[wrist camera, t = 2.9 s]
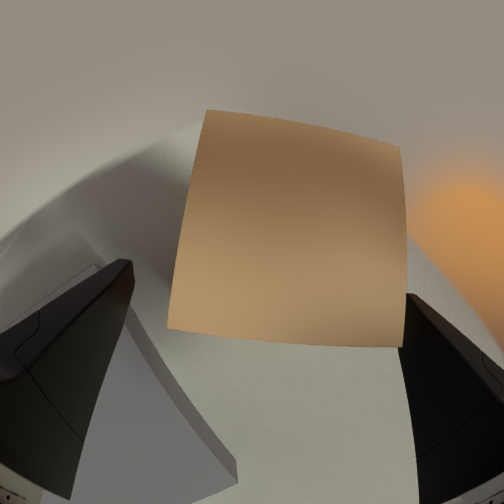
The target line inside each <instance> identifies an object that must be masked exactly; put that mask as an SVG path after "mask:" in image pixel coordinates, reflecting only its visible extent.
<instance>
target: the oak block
mask: <svg viewBox="0 0 504 504" xmlns="http://www.w3.org/2000/svg"><path fill="white" fill-rule="evenodd" d="M406 284H407V233H406V211H405V196H404V183H403V173H402V164H401V156H400V149H399V147H397V146H394V145H390V144H387V143H384V142H380V141H377V140H373V139H369V138H365V137H362V136H358V135H354V134H349V133H346V132H342V131H338V130H333V129H329V128H324V127H320V126H314V125H309V124H305V123H300V122H294V121H288V120H283V119H277V118H271V117H264V116H258V115H250V114H243V113H235V112H226V111H216V110H206V115H205V118H204V122H203V126H202V130H201V135H200V139H199V143H198V147H197V152H196V156H195V161H194V165H193V170H192V175H191V180H190V184H189V189H188V194H187V199H186V205H185V210H184V215H183V221H182V226H181V232H180V238H179V244H178V250H177V256H176V262H175V269H174V275H173V282H172V289H171V296H170V304H169V312H168V320H167V329H173V330H179V331H186V332H193V333H200V334H207V335H215V336H222V337H231V338H239V339H249V340H258V341H269V342H280V343H293V344H308V345H325V346H348V347H402V344H403V334H404V322H405V307H406Z"/></svg>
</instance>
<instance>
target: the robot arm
mask: <svg viewBox="0 0 504 504" xmlns="http://www.w3.org/2000/svg"><path fill="white" fill-rule="evenodd" d="M134 285H135V279H134V271H133V263H132V261H131V260H128V259H122V258H120V259H117V260H116V261H114V262H112V263H111V264H109V265H107V266H106V267H104V268H102V269H101V270H99V271H98V272H96V273H94V274H93V275H91V276H89V277H88V278H86V279H85V280H83V281H81V282H80V283H78V284H77V285H75V286H74V287H72V288H70V289H69V290H67V291H66V292H64V293H63V294H61V295H60V296H58V297H56V298H55V299H53V300H52V301H50V302H49V303H47V304H46V305H44V306H43V307H41V308H40V310H37V311H35V312H34V313H32V314H31V315H29V316H28V317H26V318H25V319H23V320H22V321H20V322H19V323H17V324H15V325H14V326H12V327H10V328H9V329H7V330H5V331H4V332H2V333H0V504H41V501H42V497H43V493H44V490H46V491H48V492H51V493H53V494H55V495H57V496H59V497H62V498H64V499H66V500H69V501H70V499H71V495H72V491H73V486H74V482H75V477H76V473H77V469H78V465H79V461H80V457H81V453H82V450H83V446H84V443H83V442H85V438H86V435H87V431H88V428H89V425H90V421H91V418H92V415H93V411H94V408H95V405H96V402H97V399H98V396H99V393H100V390H101V387H102V384H103V381H104V378H105V375H106V372H107V369H108V367H109V364H110V361H111V358H112V355H113V353H114V350H115V347H116V345H117V342H118V339H119V337H120V334H121V332H122V329H123V326H124V322H125V318H126V315H127V311H128V307H129V304H130V300H131V296H132V293H133V290H134ZM398 353H399V358H400V363H401V368H402V372H403V377H404V382H405V387H406V393H407V398H408V404H409V410H410V416H411V422H412V429H413V436H414V444H415V453H416V463H417V474H418V487H419V504H443V503H445V502H448V501H450V500H452V499H455V498H457V497H459V496H460V500H461V504H504V370H503V369H502V368H501V367H500V366H498V365H497V364H496V363H495V362H494V361H493V360H492V359H490V358H489V357H488V356H487V355H486V354H485V353H484V352H483V351H481V350H480V349H479V348H478V347H477V346H476V345H475V344H474V343H473V342H471V341H470V340H469V339H468V338H467V337H466V336H465V335H463V334H462V333H461V332H460V331H459V330H458V329H457V328H455V327H454V326H453V325H452V324H451V323H449V322H448V321H447V320H446V319H445V318H444V317H442V316H441V315H440V314H439V313H438V312H436V311H435V310H434V309H433V308H432V307H430V306H429V305H428V304H427V303H425V302H424V301H423V300H422V299H421V298H419V297H418V296H417V295H415V294H411V293H406V307H405V322H404V334H403V344H402V347H398Z"/></svg>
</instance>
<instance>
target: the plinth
mask: <svg viewBox="0 0 504 504" xmlns="http://www.w3.org/2000/svg"><path fill="white" fill-rule="evenodd" d="M102 268H103V267H101V266H98V265H96V264H93V265H91V266H90V267H88V268H87V269H85V270H84V271H82V272H81V273H79V274H78V275H76V276H75V277H74V278H72V279H71V280H69V281H68V282H66V283H65V284H64V285H62V286H61V287H59V288H58V289H57V290H55V291H54V292H52V293H51V294H50V295H48V296H47V297H45V298H44V299H43V300H41V301H40V302H39V303H37V304H36V305H35V306H33V307H32V308H31V309H29V310H28V311H27V312H25V313H24V314H23V315H21V316H20V317H19V318H17V319H16V320H15V321H14V322H12V323H11V324H10V325H8V326H7V327H6V328H5V329H3V330H2V331H1V332H0V333H2V332H4V331H5V330H7V329H9V328H10V327H12V326H14V325H15V324H17V323H19V322H20V321H22V320H23V319H25V318H26V317H28V316H29V315H31V314H32V313H34V312H35V311H37V310H40V308H41V307H43V306H44V305H46V304H47V303H49V302H50V301H52V300H53V299H55V298H56V297H58V296H60V295H61V294H63V293H64V292H66V291H67V290H69V289H70V288H72V287H74V286H75V285H77V284H78V283H80V282H81V281H83V280H85V279H86V278H88V277H89V276H91V275H93V274H94V273H96V272H98V271H99V270H101V269H102ZM83 443H84V446H83V450H82V453H81V457H80V461H79V465H78V469H77V473H76V477H75V482H74V486H73V491H72V495H71V499H70V501H69V500H66V499H64V498H62V497H59V496H57V495H55V494H53V493H51V492H48V491H46V490H44V493H43V497H42V501H41V503H42V504H191V503H193V502H196V501H198V500H201V499H203V498H206V497H208V496H210V495H213V494H215V493H217V492H220V491H222V490H224V489H226V488H228V487H230V486H233V485H235V484H237V483H238V477H237V467H236V460H235V458H234V457H233V456H232V455H231V454H230V452H229V451H228V450H227V449H226V448H225V446H224V445H223V444H222V443H221V441H220V440H219V439H218V438H217V436H216V435H215V434H214V432H213V431H212V430H211V429H210V427H209V426H208V425H207V423H206V422H205V421H204V419H203V418H202V417H201V415H200V414H199V413H198V411H197V410H196V408H195V407H194V406H193V404H192V403H191V401H190V400H189V399H188V397H187V396H186V394H185V393H184V391H183V390H182V389H181V387H180V386H179V384H178V383H177V381H176V380H175V378H174V377H173V375H172V374H171V372H170V371H169V369H168V368H167V366H166V364H165V363H164V361H163V360H162V358H161V357H160V355H159V353H158V352H157V350H156V348H155V347H154V345H153V344H152V342H151V340H150V339H149V337H148V335H147V333H146V332H145V330H144V328H143V327H142V325H141V323H140V321H139V320H138V318H137V316H136V314H135V312H134V311H133V309H132V307H131V305H130V304H129V307H128V311H127V315H126V318H125V322H124V326H123V329H122V332H121V334H120V337H119V339H118V342H117V345H116V347H115V350H114V353H113V355H112V358H111V361H110V364H109V367H108V369H107V372H106V375H105V378H104V381H103V384H102V387H101V390H100V393H99V396H98V399H97V402H96V405H95V408H94V411H93V415H92V418H91V421H90V425H89V428H88V431H87V435H86V438H85V442H83Z"/></svg>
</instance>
